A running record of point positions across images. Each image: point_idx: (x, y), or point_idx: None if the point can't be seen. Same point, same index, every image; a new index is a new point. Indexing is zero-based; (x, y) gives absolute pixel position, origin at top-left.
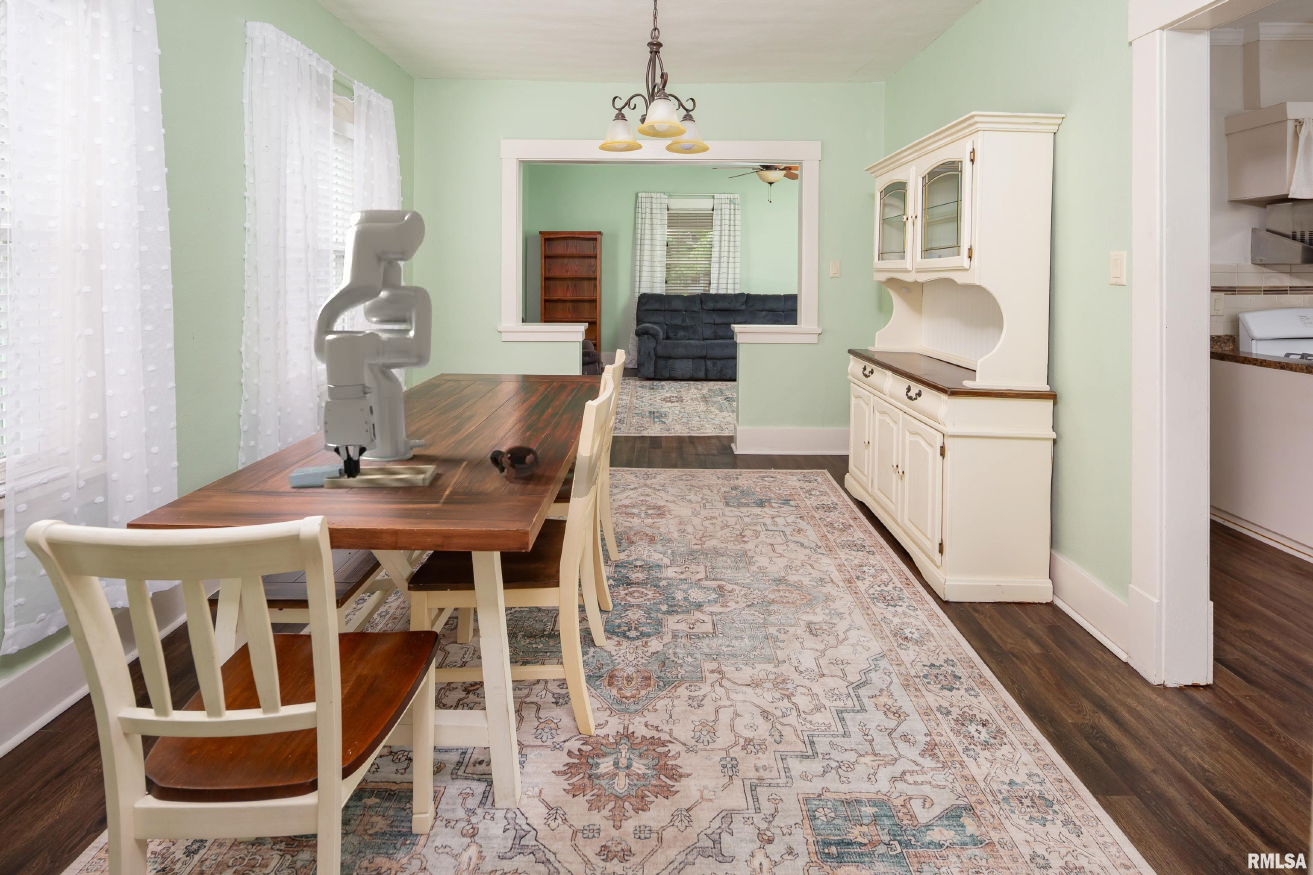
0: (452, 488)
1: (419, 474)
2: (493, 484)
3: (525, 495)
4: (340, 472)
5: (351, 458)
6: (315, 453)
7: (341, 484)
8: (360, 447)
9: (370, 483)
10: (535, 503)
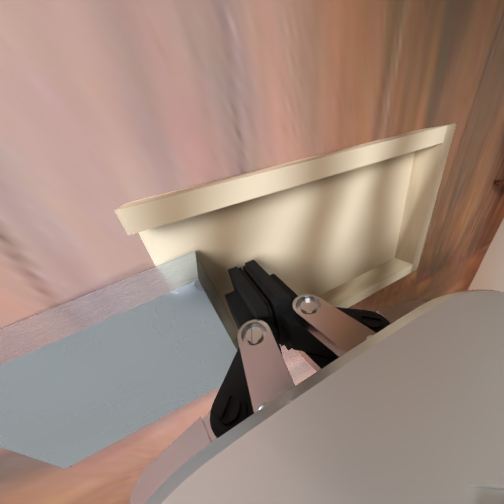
0: (423, 246)
1: (391, 161)
2: (473, 203)
3: (477, 252)
4: (236, 342)
5: (270, 318)
6: None
7: None
8: (356, 337)
9: None
10: (471, 278)
